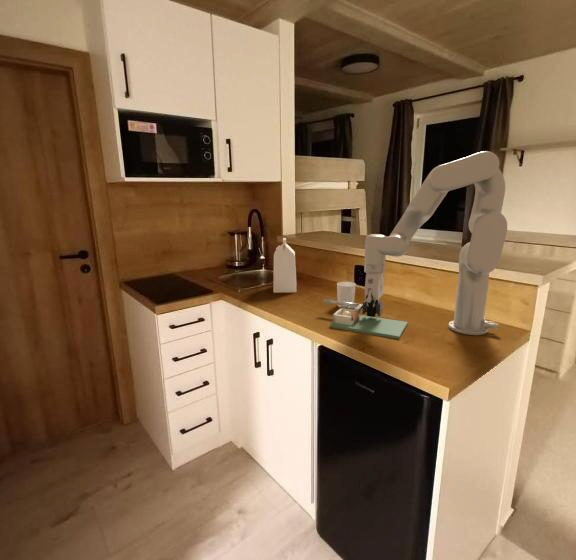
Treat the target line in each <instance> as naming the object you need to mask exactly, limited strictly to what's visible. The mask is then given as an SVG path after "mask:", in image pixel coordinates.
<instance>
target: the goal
mask: <svg viewBox="0 0 576 560" xmlns="http://www.w3.org/2000/svg"><path fill="white" fill-rule="evenodd" d="M344 311H349V312H350V313H351V317H350V316H344V315H342V313H343V312H344ZM354 311H355V310H352V309H350V308H348V309H345V308H340V307H339V309H338V310H336V311H335V312H334V313H333V314H332V322H334V323H340V324H346V325H351V321H352V318H353V313H354Z"/></svg>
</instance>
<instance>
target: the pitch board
mask: <svg viewBox="0 0 576 560" xmlns="http://www.w3.org/2000/svg"><path fill="white" fill-rule="evenodd" d="M341 308H345V309H352V310H355V308H356V307H353V306H351V307H350V308H348V306H346V305H342V306H341ZM408 322H409V321H404V320H396V319H391V318H383V317H378V316H377V317H376V316H375V317H369V316H367V315H365V314H359V321H358V322H357V323H356V322H353V318H352V321H351V325H346V324H340V323H334V322H333V321H331V323H330V324H329V328H333V329H339V330H345V331H351V332H356V333H363V334H367V335H374V336H380V337H386V338H390V339H391V338H392V339H396V340H400V339H401V337H402V335H403V333H404V331H405V330H406V328H407V326H408Z"/></svg>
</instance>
